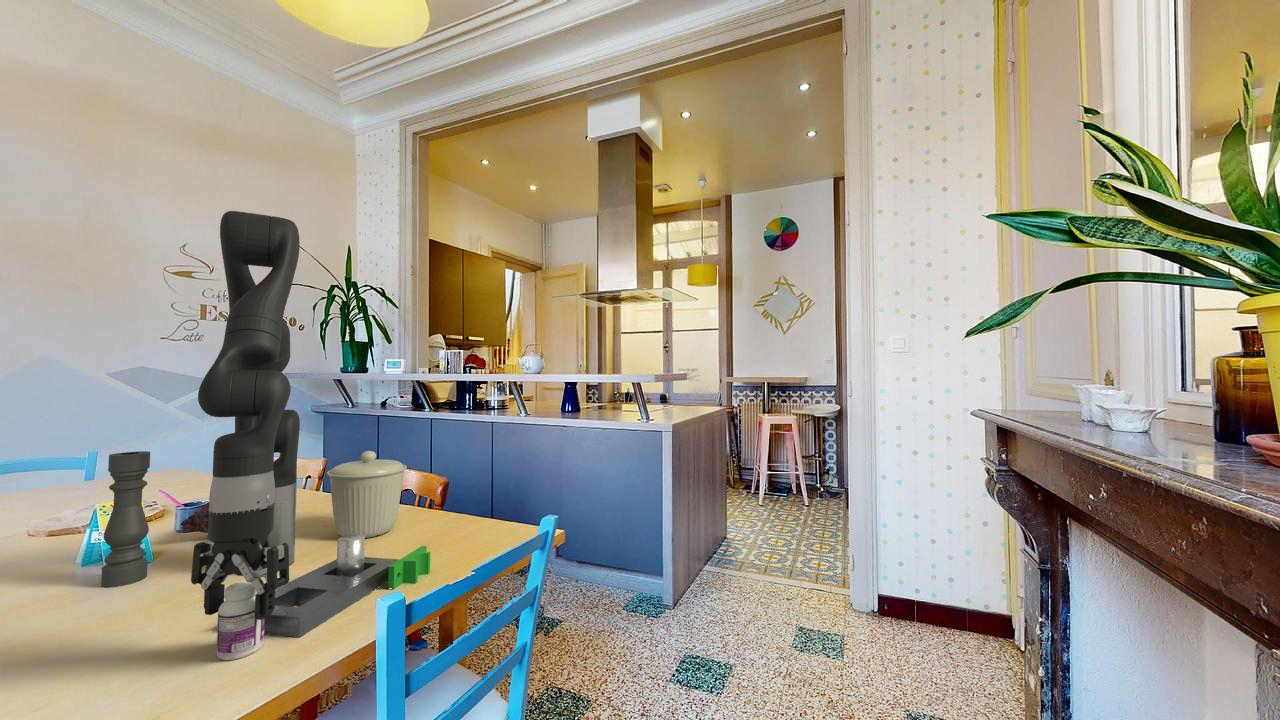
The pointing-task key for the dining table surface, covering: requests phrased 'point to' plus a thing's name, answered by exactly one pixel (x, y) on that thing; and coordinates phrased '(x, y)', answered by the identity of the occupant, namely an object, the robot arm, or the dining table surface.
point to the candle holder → (126, 520)
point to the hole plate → (322, 596)
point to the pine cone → (197, 521)
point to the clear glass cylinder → (350, 555)
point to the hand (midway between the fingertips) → (238, 614)
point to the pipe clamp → (409, 568)
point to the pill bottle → (239, 623)
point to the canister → (366, 495)
